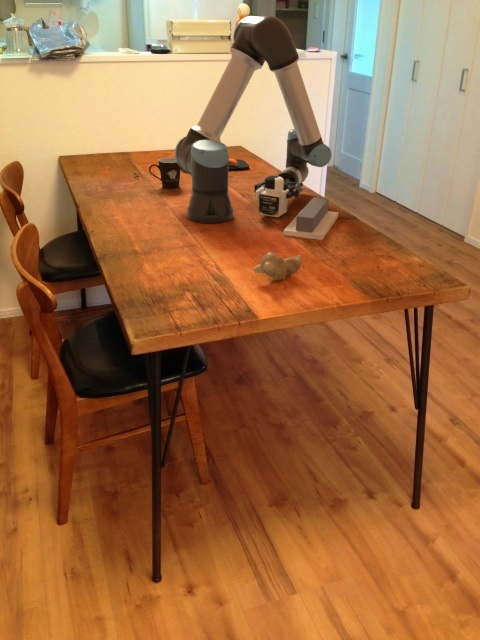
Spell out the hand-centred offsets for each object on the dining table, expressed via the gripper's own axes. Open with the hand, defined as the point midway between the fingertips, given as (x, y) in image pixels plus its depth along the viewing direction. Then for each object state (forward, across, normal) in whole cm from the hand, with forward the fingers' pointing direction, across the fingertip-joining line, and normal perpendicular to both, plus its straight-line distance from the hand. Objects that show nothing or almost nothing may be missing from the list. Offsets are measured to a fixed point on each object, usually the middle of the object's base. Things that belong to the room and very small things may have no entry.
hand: (269, 197), depth 189 cm
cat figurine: (+43, -16, -8) cm, 47 cm away
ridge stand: (-1, -14, -8) cm, 16 cm away
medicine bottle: (-5, 0, -7) cm, 8 cm away
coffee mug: (-24, +48, -8) cm, 55 cm away
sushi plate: (-66, +47, -8) cm, 81 cm away
